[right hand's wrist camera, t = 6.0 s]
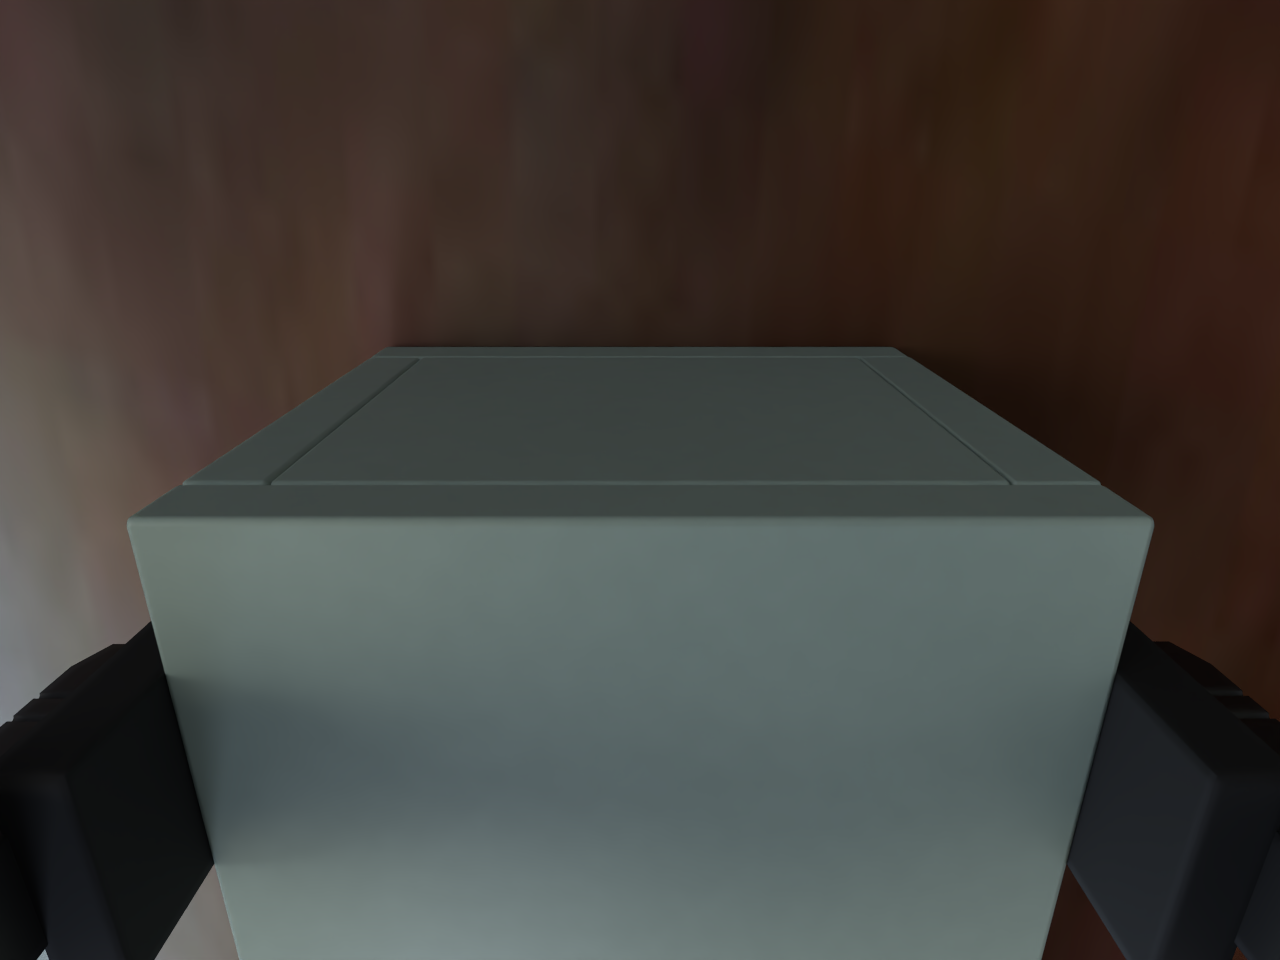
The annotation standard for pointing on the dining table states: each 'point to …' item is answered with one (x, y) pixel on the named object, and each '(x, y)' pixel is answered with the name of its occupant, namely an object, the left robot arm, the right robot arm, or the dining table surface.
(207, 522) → the cabinet
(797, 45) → the dining table surface
